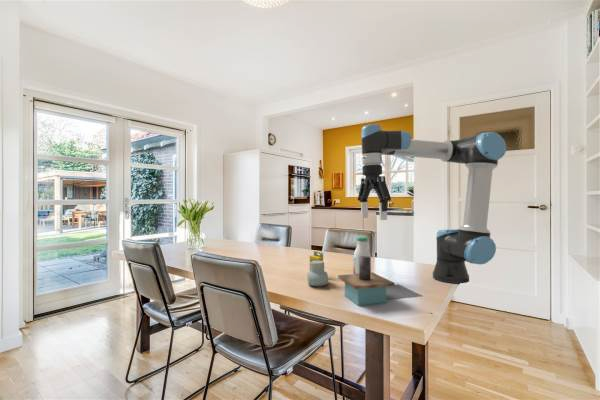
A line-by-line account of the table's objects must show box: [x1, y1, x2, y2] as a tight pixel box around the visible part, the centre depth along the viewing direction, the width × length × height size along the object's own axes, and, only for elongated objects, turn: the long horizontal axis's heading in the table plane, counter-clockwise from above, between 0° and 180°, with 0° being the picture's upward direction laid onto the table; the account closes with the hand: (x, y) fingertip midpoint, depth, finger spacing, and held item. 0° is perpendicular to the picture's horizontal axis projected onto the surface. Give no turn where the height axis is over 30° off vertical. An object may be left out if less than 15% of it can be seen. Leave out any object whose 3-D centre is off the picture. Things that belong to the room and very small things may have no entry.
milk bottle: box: [353, 236, 372, 274], centre depth 136 cm, size 8×8×20 cm
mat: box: [386, 284, 423, 301], centre depth 119 cm, size 16×16×1 cm
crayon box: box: [309, 250, 324, 272], centre depth 144 cm, size 7×3×12 cm, turn 35°
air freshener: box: [306, 260, 329, 287], centre depth 131 cm, size 11×8×10 cm
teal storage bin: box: [344, 282, 387, 307], centre depth 110 cm, size 11×11×7 cm
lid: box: [337, 256, 396, 289], centre depth 110 cm, size 15×15×9 cm
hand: (373, 219), depth 119 cm, fingers open, 13 cm apart
